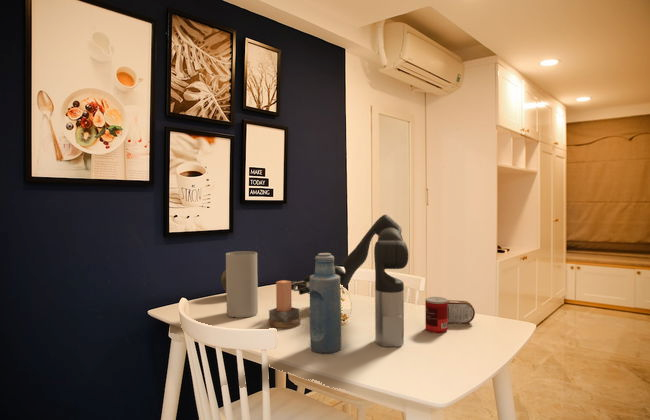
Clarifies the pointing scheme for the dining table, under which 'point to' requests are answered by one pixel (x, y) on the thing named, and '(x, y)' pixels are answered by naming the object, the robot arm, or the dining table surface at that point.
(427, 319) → the canned food
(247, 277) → the cylinder vase
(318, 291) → the bottle
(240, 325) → the dining table surface
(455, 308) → the tin
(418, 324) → the dining table surface
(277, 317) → the block holder stand
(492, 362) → the dining table surface
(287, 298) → the post
